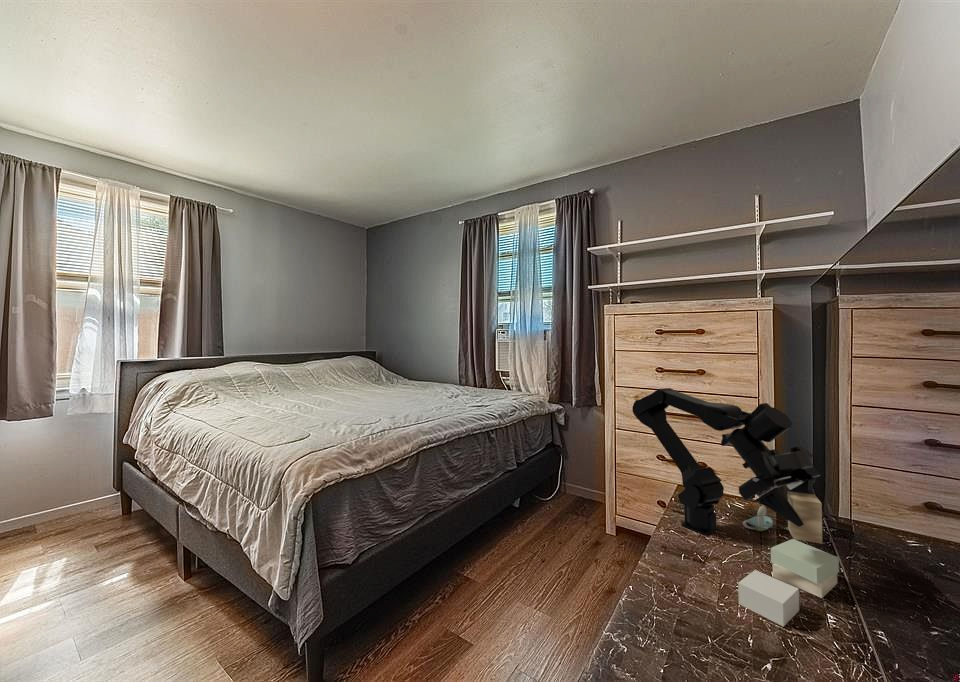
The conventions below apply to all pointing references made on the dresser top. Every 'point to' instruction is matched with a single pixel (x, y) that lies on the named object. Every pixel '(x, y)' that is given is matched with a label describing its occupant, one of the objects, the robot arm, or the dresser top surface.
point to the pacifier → (759, 521)
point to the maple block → (806, 517)
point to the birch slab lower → (805, 581)
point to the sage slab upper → (805, 560)
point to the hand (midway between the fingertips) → (812, 522)
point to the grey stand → (769, 597)
